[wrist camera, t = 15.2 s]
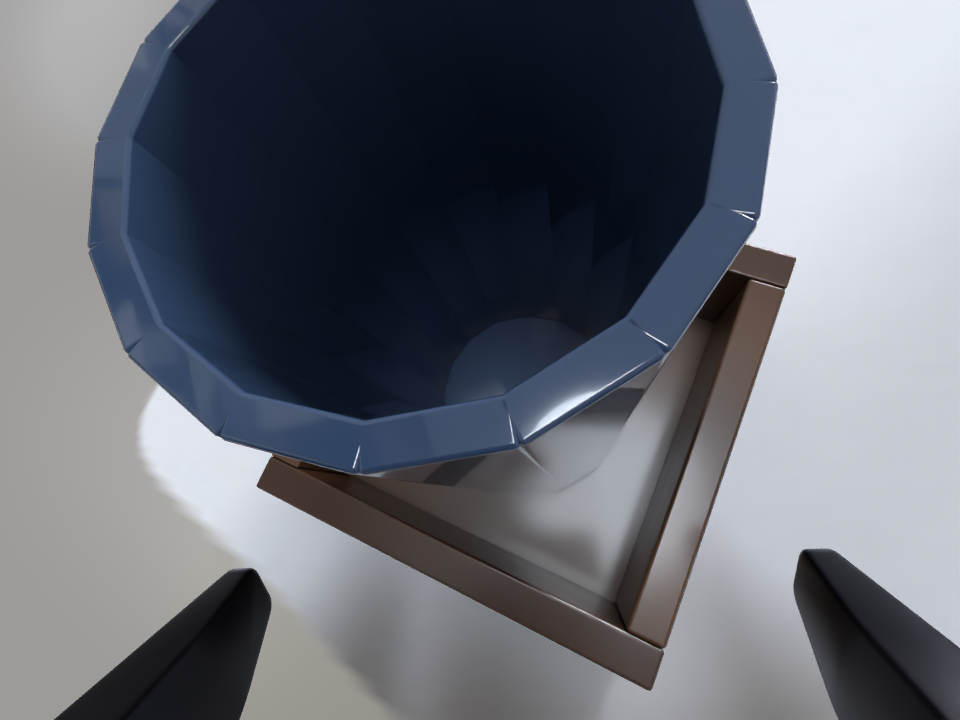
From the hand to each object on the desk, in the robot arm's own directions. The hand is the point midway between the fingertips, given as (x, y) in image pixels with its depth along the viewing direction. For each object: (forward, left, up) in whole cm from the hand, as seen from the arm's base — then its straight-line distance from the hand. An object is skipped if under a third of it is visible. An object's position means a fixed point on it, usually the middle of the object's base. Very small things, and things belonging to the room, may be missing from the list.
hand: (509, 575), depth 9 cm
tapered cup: (+4, +2, -7) cm, 9 cm away
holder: (+4, +2, -8) cm, 9 cm away
